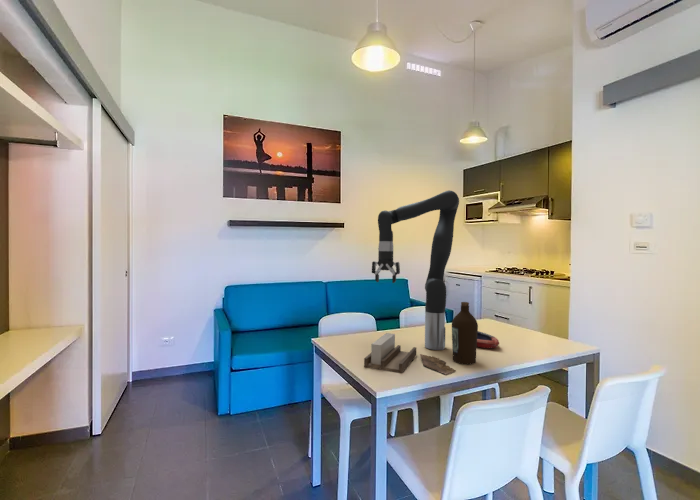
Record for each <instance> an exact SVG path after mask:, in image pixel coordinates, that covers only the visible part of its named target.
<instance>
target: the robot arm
mask: <svg viewBox="0 0 700 500" xmlns="http://www.w3.org/2000/svg"><path fill="white" fill-rule="evenodd" d="M459 206H460V198H459V196H458V194H457V192H455V191H453V190H445V191H443V192H440V193H438V194H436V195H433V196H432V197H429V198H427V199H423V200H420V201H416V202H414V203H413V202H412V203H410V204H406V205H403V206H399V207H397V208H396V209H393V210H382V211H380V212H379V214H378V216H377V226H378V233H379V234H378V247H377V249H378V258H377V261H372V262H371V273H372V274H373V275H375V278H374V279H375V281H376V283H380V273H381V271H389V272H390V273H391V274H392V284H394V283H396V282H397V275H400V274H401V272H400V271H401V270H400V267H401V266H400V265H401V264H400V262H399V261H397V262H396V261H395V262H394V232H393V230H392V225H394V224H397V223H399V222H402V221H407V220H410V219H414V218H417V217H420V216H422V215H425V214H427V213H431V212H433V211H439V217H438V222H437V225H436V228H435V231H434V234H433V238H432V243H431V250H430V260H429V261H430V262H429V269H428V274H427V277H426V281H425V284H424V289H425V292H426V293H425V295H426V296H425V306H424V308H425V310H424V314H425V315H424V348H426V349H429V350H433V351H435V350H436V351H441V350H442V351H444V349H445V348H446V326H445V324H446V306H447V286H446V284H445V282H444V280H445V270H446V266H447V264H448V261H449V259H450V257H451V256H450V255H451V253H452V247H453V240H454V239H453V238H454V230H455V229H454V226H455V219H456V216H457V212H458V208H459ZM376 266H378V267H377V269H376ZM393 267H395V269H394V268H393Z"/></svg>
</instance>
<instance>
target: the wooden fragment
mask: <svg viewBox="0 0 700 500" xmlns="http://www.w3.org/2000/svg"><path fill="white" fill-rule="evenodd" d="M419 356H420V359H421V362H422V365H423V367H426V368H428V369H431V370H433V371H435V372H439V373H442V374H445V376H448V375H452V374H454V373H455V372H456V371H457V370H456V369H454V368H452V367H450V365H447V362H446V361H445V360H442V359H440V358H439V357H436V356H433V355H432V356H430V355H426V354H422V353H421V354H419Z"/></svg>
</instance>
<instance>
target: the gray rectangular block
mask: <svg viewBox="0 0 700 500" xmlns="http://www.w3.org/2000/svg"><path fill="white" fill-rule="evenodd" d="M395 344H396V334H395V333H390V332H386V333H383V335H381V336H380V337H379V338H378V339H376V340H375V341H374V342H371V346H370V347H371V352H370V353H371V364H376V365H381V361H382V360H383V359H384V358H385V357H386V356H387V355H388V354H389V353H390V352H391V351H392V350H393V349H395V348H396V345H395Z"/></svg>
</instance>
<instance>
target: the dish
mask: <svg viewBox="0 0 700 500" xmlns="http://www.w3.org/2000/svg"><path fill="white" fill-rule="evenodd" d="M499 345H500V342H499V339H498V338H497V337H495V336H494V335H492V334H488V333H487V332H482V331H479V330H478V333H477V348H482V349H496V348H498V346H499Z"/></svg>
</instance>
